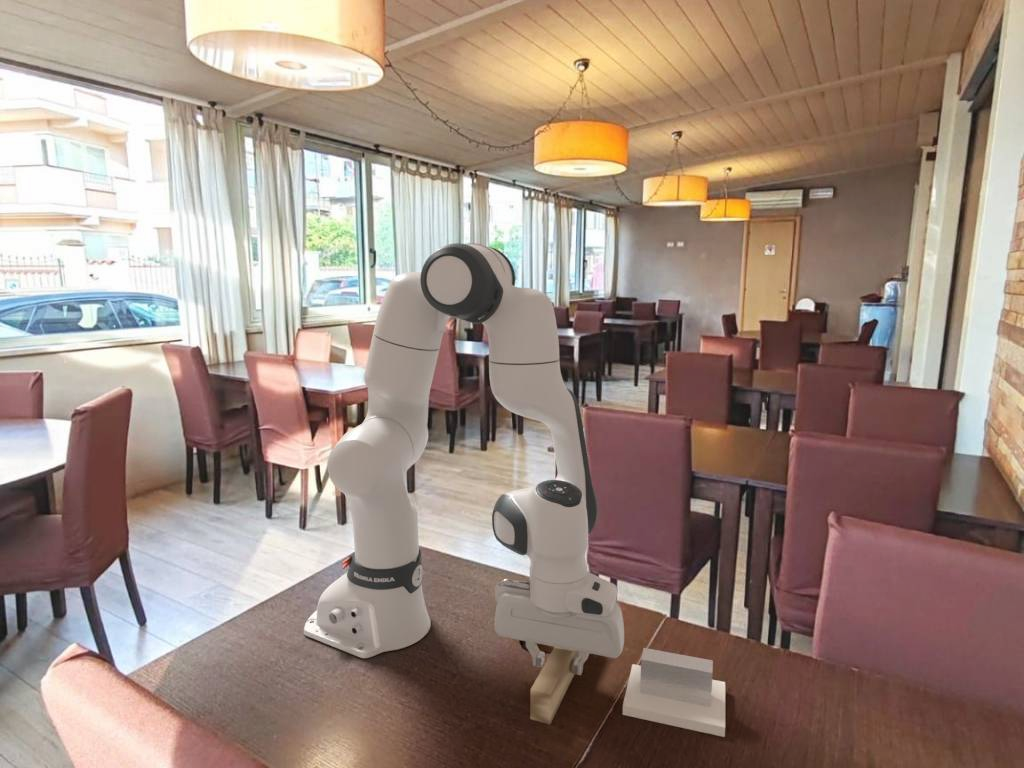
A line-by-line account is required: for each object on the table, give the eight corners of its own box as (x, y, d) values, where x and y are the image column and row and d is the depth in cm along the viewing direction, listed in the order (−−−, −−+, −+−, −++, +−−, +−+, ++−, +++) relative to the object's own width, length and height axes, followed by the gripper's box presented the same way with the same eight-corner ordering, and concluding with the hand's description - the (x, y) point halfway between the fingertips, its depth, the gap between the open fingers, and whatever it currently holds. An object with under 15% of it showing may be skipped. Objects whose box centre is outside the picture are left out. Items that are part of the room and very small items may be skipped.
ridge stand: (622, 714, 90) (623, 671, 88) (632, 672, 99) (633, 632, 98) (724, 737, 85) (727, 691, 84) (724, 690, 94) (727, 649, 93)
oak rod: (530, 720, 89) (530, 689, 88) (571, 643, 107) (571, 617, 106) (550, 726, 88) (550, 694, 87) (587, 647, 106) (588, 620, 105)
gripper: (487, 586, 95) (488, 667, 98) (621, 608, 89) (618, 694, 91) (501, 568, 101) (502, 644, 104) (627, 587, 95) (624, 668, 97)
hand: (557, 668), depth 97 cm, fingers open, 5 cm apart
